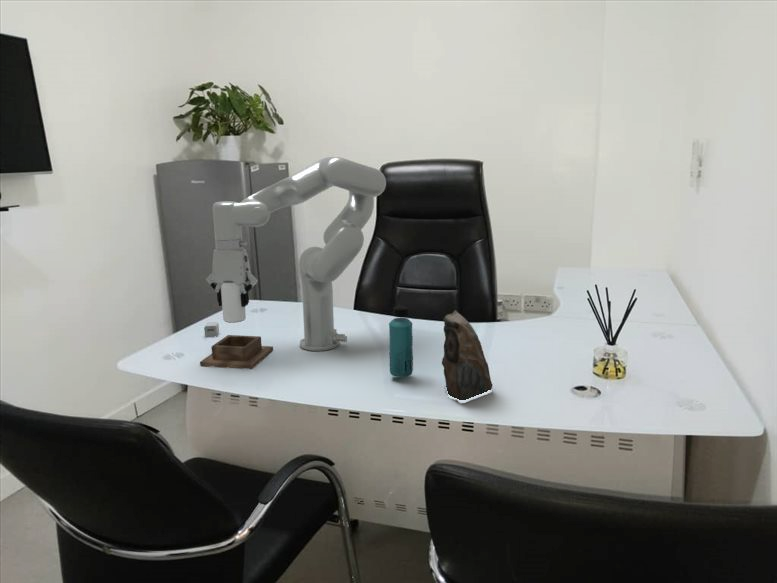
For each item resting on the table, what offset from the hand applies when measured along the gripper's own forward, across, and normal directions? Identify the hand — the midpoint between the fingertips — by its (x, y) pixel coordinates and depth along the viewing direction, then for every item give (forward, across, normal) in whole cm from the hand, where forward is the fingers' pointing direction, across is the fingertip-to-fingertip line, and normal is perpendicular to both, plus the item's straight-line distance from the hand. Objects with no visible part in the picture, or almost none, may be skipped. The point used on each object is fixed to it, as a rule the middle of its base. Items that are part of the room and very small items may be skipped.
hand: (233, 304), depth 160 cm
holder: (+17, 0, 0) cm, 17 cm away
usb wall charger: (+17, +19, -21) cm, 33 cm away
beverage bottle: (+17, -51, +8) cm, 54 cm away
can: (+5, 0, 0) cm, 5 cm away
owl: (+17, -69, +15) cm, 73 cm away
